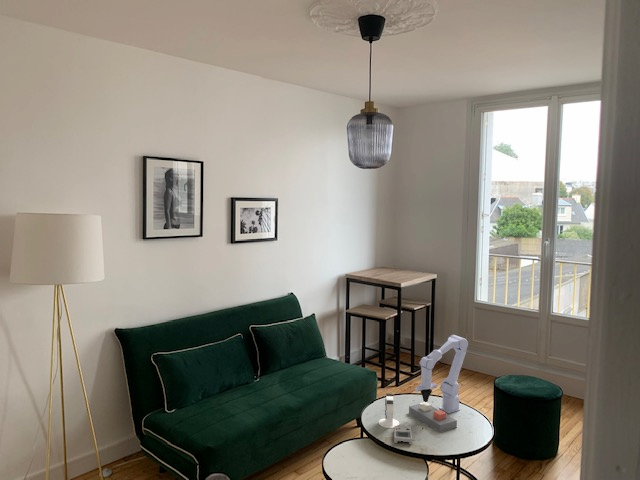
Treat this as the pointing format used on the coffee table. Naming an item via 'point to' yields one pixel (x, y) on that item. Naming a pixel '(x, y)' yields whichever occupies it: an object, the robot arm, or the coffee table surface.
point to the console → (430, 420)
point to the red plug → (439, 415)
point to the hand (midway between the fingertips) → (425, 401)
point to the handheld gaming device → (402, 433)
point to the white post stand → (388, 413)
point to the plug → (425, 406)
